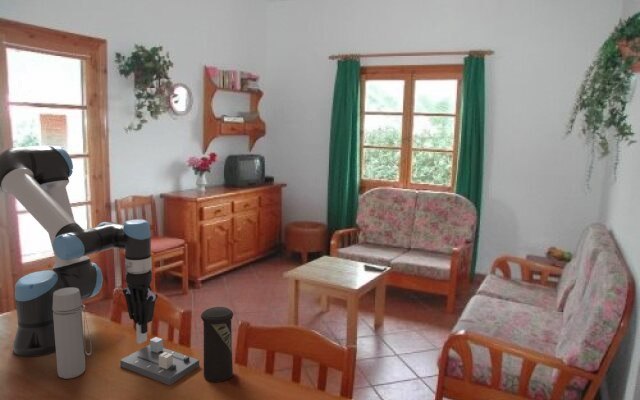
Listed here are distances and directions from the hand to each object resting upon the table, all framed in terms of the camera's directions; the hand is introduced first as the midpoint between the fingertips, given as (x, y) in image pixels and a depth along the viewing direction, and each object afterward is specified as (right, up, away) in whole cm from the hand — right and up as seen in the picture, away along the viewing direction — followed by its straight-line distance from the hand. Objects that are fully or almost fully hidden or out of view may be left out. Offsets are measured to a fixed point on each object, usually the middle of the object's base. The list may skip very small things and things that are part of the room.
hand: (141, 341), depth 151 cm
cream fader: (+11, -4, -12) cm, 17 cm away
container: (+27, -6, -11) cm, 30 cm away
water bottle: (-15, -6, -12) cm, 20 cm away
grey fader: (+6, -2, -3) cm, 7 cm away
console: (+8, -5, -8) cm, 12 cm away
